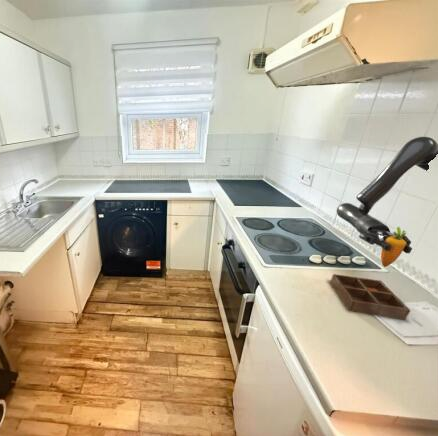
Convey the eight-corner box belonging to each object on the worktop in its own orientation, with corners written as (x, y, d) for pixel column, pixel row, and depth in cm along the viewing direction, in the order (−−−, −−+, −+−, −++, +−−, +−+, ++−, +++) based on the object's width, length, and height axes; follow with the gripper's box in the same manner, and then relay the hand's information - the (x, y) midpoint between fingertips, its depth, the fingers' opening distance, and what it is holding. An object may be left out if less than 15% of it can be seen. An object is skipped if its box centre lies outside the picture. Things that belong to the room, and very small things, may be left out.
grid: (376, 289, 90) (381, 280, 88) (405, 320, 76) (410, 310, 74) (329, 282, 93) (333, 273, 92) (348, 310, 80) (352, 301, 78)
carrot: (394, 272, 81) (413, 233, 75) (374, 266, 84) (391, 228, 78) (393, 266, 84) (412, 228, 78) (375, 261, 87) (391, 224, 81)
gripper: (352, 217, 94) (377, 237, 79) (397, 221, 90) (432, 242, 75) (346, 234, 97) (369, 256, 82) (389, 238, 93) (421, 262, 78)
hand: (399, 249), depth 78 cm, fingers closed on carrot, 4 cm apart
